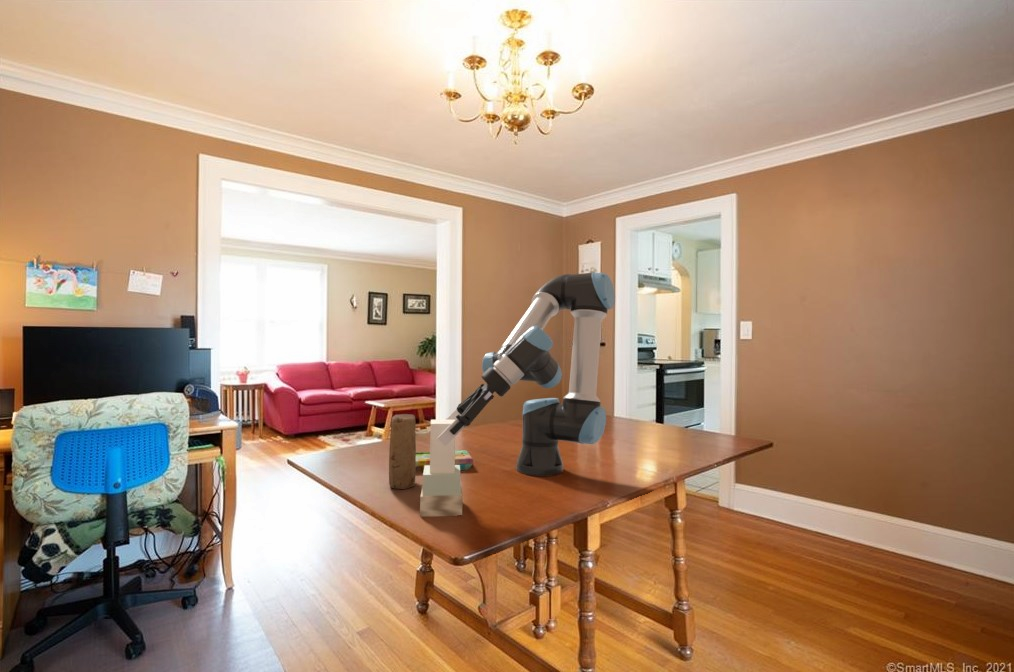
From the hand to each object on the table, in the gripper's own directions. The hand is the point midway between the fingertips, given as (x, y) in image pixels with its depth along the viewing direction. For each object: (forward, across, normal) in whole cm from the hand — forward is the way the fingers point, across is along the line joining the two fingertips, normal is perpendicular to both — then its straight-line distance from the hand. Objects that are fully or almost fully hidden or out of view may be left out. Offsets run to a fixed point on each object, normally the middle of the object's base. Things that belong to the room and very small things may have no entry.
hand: (441, 436), depth 124 cm
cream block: (+6, +1, +6) cm, 8 cm away
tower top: (+9, 0, +10) cm, 13 cm away
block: (+21, -20, +5) cm, 30 cm away
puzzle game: (+14, -40, +13) cm, 44 cm away
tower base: (+13, 0, +13) cm, 18 cm away
